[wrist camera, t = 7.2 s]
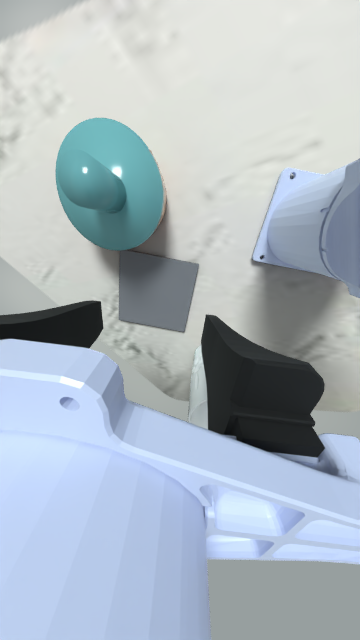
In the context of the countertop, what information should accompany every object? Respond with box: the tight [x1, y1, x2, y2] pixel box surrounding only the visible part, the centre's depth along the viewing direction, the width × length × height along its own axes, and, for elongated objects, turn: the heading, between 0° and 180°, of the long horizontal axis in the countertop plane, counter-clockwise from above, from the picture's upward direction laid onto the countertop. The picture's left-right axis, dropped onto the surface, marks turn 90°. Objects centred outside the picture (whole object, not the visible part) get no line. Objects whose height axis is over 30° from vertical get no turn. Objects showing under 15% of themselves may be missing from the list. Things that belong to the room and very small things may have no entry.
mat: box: [119, 250, 199, 332], centre depth 22 cm, size 9×9×1 cm
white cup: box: [188, 345, 208, 429], centre depth 21 cm, size 8×8×10 cm
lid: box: [56, 118, 164, 251], centre depth 13 cm, size 9×9×5 cm
